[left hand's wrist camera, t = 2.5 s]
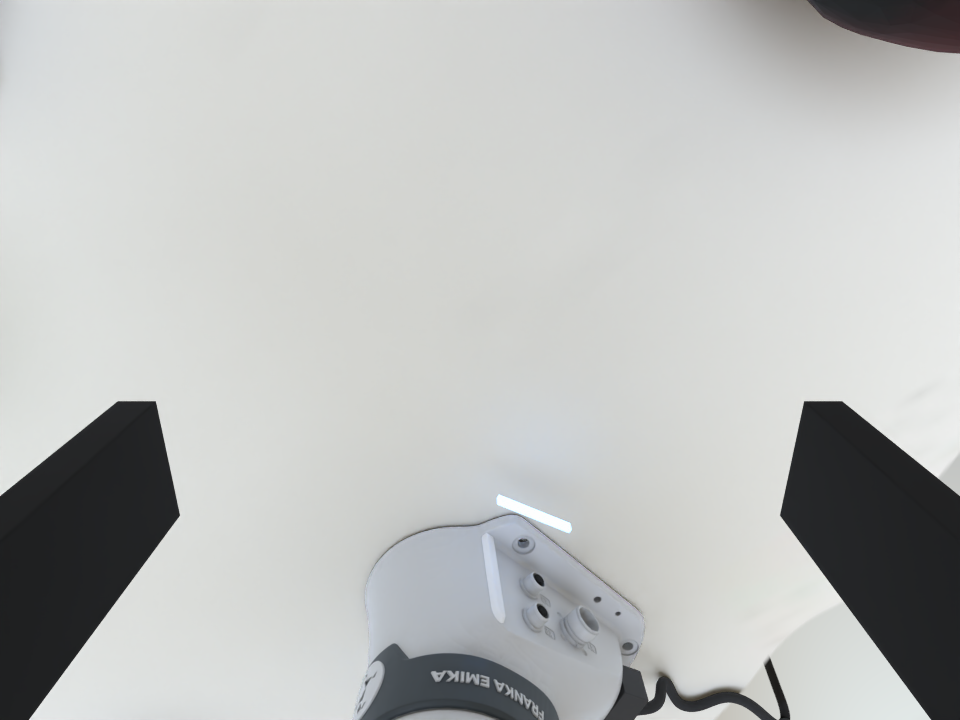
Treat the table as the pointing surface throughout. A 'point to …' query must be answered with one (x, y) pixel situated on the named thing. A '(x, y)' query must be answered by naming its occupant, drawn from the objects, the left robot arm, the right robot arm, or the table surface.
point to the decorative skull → (899, 21)
